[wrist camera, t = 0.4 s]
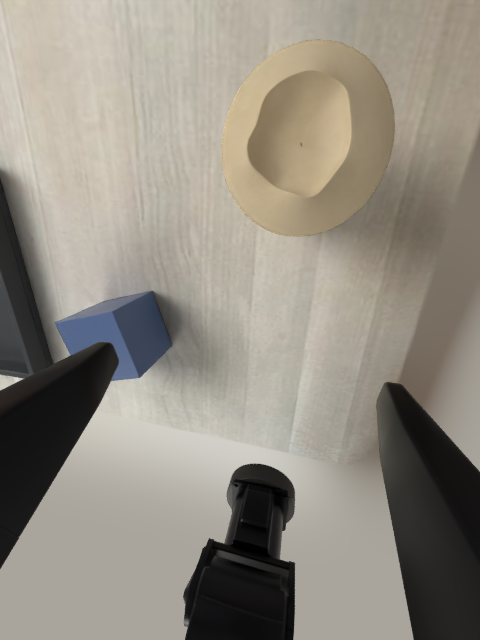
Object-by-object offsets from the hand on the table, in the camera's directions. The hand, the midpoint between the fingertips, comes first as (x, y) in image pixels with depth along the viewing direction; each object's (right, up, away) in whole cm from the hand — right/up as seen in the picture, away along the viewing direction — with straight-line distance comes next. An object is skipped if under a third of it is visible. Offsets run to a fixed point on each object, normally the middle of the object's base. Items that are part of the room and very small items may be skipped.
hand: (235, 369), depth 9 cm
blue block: (-9, +1, +15) cm, 17 cm away
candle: (+4, +10, +8) cm, 14 cm away
